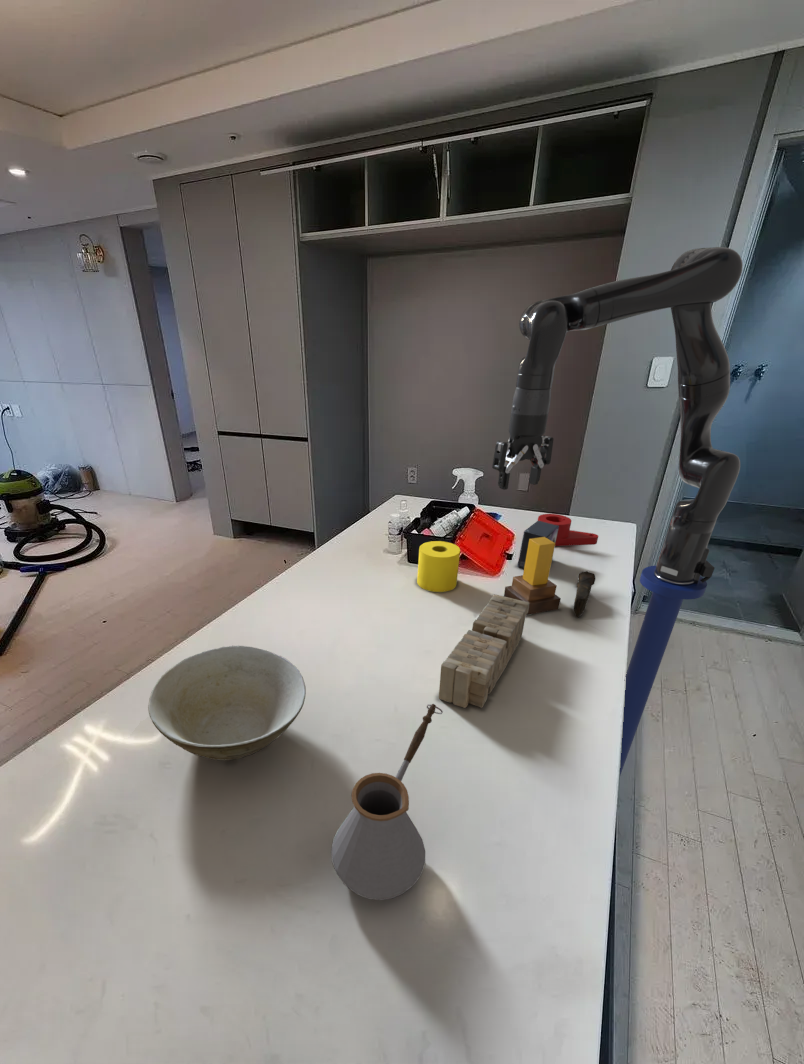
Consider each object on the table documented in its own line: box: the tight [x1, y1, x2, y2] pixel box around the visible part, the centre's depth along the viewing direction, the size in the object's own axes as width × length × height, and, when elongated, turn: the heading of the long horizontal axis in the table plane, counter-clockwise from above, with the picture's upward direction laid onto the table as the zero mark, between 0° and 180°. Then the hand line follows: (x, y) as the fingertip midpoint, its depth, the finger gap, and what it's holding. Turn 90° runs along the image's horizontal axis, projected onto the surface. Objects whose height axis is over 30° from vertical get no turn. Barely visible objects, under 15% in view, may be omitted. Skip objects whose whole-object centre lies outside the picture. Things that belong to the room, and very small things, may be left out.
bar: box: [522, 537, 556, 586], centre depth 115 cm, size 4×4×10 cm
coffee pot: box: [330, 703, 444, 901], centre depth 63 cm, size 21×12×15 cm, turn 149°
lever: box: [537, 513, 599, 547], centre depth 153 cm, size 18×9×7 cm, turn 80°
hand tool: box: [573, 570, 596, 619], centre depth 121 cm, size 19×4×5 cm, turn 151°
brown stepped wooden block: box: [503, 574, 562, 616], centre depth 119 cm, size 9×9×6 cm
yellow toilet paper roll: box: [416, 540, 461, 593], centre depth 128 cm, size 10×10×9 cm
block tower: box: [438, 594, 529, 709], centre depth 98 cm, size 8×8×29 cm
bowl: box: [147, 645, 307, 761], centre depth 81 cm, size 24×24×10 cm
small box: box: [516, 520, 559, 569], centre depth 138 cm, size 11×6×10 cm, turn 143°
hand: (518, 486), depth 115 cm, fingers open, 8 cm apart
